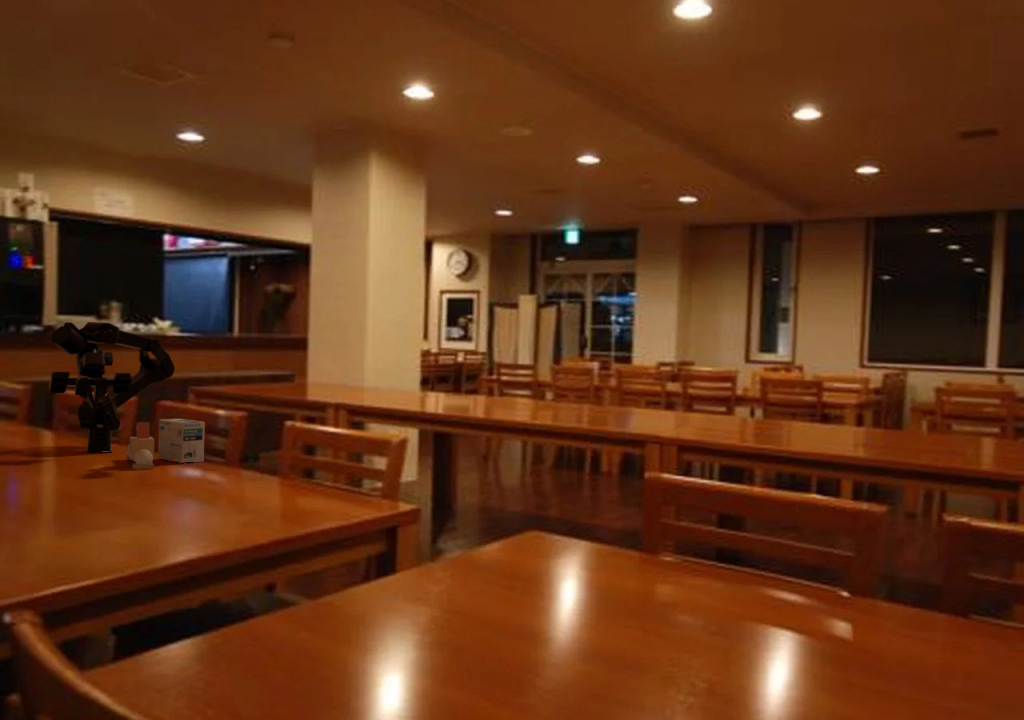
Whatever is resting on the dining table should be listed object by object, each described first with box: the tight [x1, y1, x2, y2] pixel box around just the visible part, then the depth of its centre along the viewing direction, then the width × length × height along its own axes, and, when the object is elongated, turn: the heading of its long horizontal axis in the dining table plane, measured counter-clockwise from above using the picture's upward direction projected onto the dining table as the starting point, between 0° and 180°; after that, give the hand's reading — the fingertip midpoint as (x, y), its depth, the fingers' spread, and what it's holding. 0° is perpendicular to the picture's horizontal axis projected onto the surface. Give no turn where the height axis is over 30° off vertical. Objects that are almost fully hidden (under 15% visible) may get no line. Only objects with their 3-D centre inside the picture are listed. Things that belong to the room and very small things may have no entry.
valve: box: [125, 436, 155, 470], centre depth 205 cm, size 17×5×8 cm, turn 32°
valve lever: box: [135, 421, 151, 439], centre depth 198 cm, size 3×13×3 cm, turn 26°
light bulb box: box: [157, 418, 206, 463], centre depth 214 cm, size 11×7×11 cm, turn 58°
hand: (94, 407), depth 207 cm, fingers closed
